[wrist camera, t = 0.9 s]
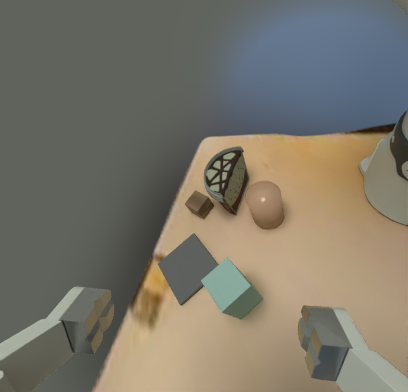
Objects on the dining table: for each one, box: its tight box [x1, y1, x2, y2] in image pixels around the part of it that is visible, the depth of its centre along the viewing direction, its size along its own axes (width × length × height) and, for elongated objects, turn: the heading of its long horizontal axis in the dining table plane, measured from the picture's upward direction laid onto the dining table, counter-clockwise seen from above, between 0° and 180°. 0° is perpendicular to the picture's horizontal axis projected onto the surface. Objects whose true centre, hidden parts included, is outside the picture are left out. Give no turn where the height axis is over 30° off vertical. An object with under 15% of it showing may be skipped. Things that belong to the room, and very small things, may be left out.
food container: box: [204, 146, 249, 215], centre depth 47 cm, size 12×6×10 cm, turn 156°
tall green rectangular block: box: [201, 257, 263, 319], centre depth 34 cm, size 5×5×11 cm
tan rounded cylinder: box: [245, 181, 284, 230], centre depth 41 cm, size 6×6×8 cm
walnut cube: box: [185, 190, 214, 219], centre depth 50 cm, size 4×4×4 cm
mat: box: [158, 233, 218, 305], centre depth 44 cm, size 10×10×1 cm
